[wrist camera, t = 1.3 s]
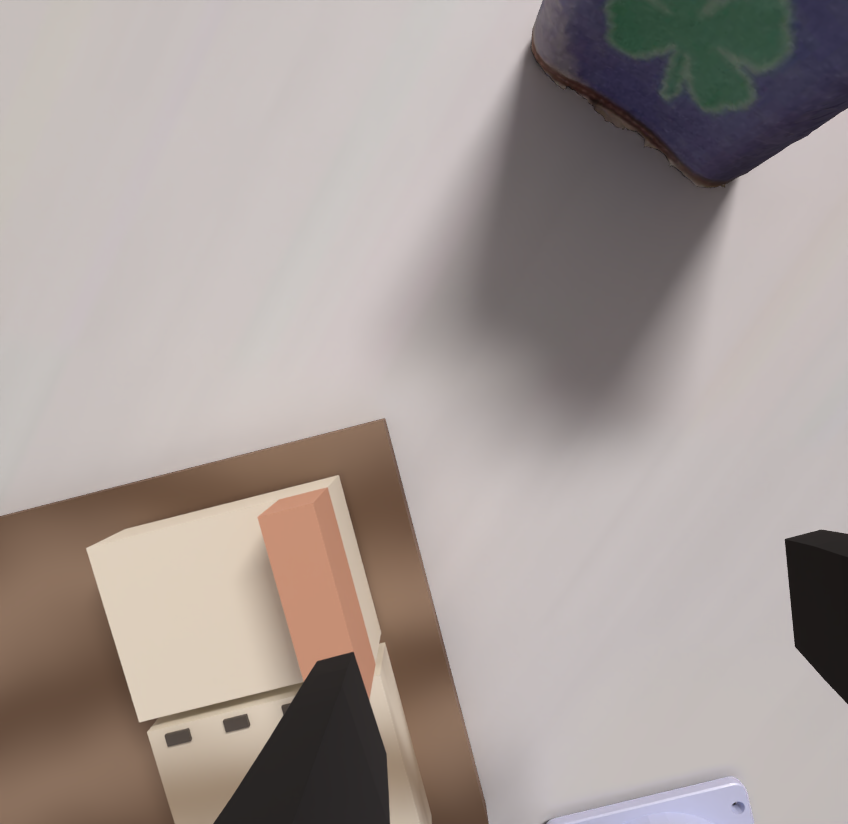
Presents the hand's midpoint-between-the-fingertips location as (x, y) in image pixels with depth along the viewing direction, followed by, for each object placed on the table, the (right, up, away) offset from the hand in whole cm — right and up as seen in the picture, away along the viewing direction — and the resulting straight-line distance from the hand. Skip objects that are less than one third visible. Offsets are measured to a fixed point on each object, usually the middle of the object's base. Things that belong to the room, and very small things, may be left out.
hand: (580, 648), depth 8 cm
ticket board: (-12, -7, +11) cm, 18 cm away
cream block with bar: (-9, -2, +10) cm, 13 cm away
